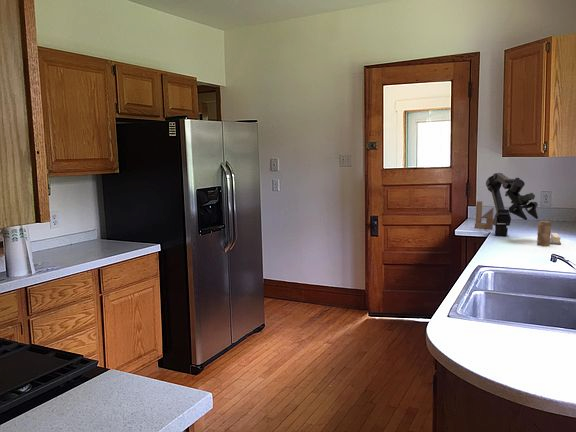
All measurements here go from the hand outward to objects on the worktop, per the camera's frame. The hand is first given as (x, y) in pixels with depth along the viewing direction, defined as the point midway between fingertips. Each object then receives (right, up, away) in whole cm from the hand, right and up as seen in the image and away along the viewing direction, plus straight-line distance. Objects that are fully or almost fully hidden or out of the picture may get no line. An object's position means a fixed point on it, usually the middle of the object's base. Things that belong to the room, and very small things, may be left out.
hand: (532, 219), depth 275 cm
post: (+3, -14, -5) cm, 16 cm away
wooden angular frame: (-6, -7, +54) cm, 55 cm away
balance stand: (+12, -13, +5) cm, 18 cm away
